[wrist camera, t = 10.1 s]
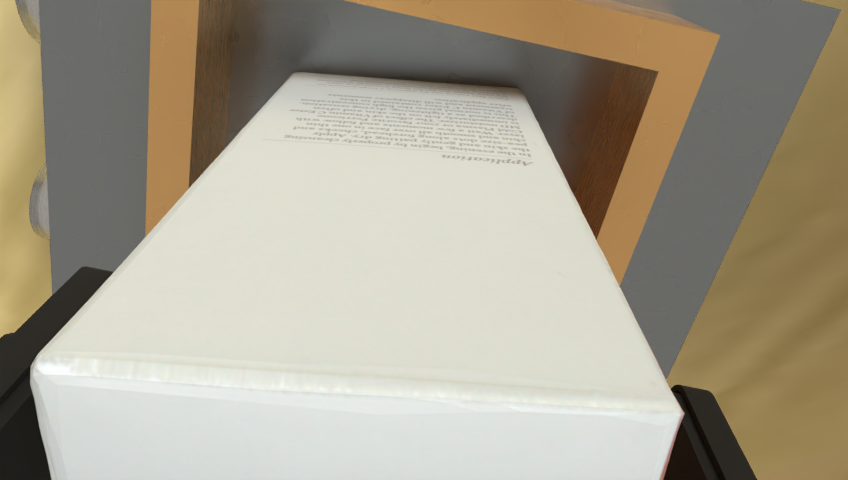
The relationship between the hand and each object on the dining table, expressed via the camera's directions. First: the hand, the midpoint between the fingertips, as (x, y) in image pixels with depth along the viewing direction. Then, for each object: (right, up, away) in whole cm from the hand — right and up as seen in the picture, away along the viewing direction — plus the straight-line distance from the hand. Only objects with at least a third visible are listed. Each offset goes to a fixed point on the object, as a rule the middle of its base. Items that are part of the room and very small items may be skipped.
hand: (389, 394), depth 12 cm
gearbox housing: (0, +6, +13) cm, 15 cm away
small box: (0, +4, +8) cm, 9 cm away
